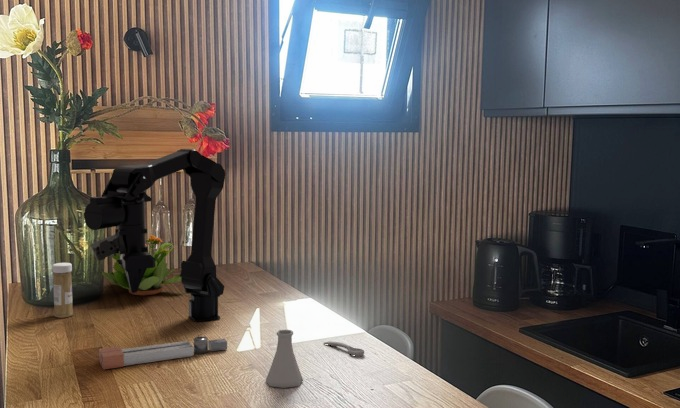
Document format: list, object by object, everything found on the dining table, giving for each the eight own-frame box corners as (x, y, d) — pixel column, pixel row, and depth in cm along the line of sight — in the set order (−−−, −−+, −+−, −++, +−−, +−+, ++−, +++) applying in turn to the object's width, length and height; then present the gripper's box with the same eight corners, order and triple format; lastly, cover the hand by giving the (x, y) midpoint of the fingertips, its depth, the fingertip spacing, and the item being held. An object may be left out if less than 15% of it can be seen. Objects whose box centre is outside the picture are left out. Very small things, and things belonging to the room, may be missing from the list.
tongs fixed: (224, 346, 148) (224, 335, 147) (229, 351, 144) (229, 339, 144) (100, 363, 136) (100, 351, 135) (103, 369, 132) (102, 356, 132)
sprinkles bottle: (74, 316, 169) (73, 264, 167) (55, 319, 166) (54, 266, 165) (71, 312, 172) (69, 261, 171) (52, 314, 170) (50, 263, 168)
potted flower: (202, 285, 204) (202, 229, 202) (170, 305, 181) (169, 242, 179) (126, 280, 208) (125, 225, 206) (85, 299, 185) (83, 237, 183)
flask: (266, 375, 132) (266, 326, 131) (302, 374, 132) (303, 326, 131) (265, 389, 125) (265, 337, 124) (303, 389, 125) (304, 337, 124)
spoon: (358, 359, 142) (357, 350, 142) (321, 349, 151) (320, 340, 151) (367, 356, 144) (367, 347, 144) (330, 346, 153) (330, 338, 153)
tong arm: (204, 346, 147) (204, 334, 147) (209, 352, 144) (209, 339, 143) (99, 360, 137) (99, 347, 137) (102, 367, 134) (101, 354, 133)
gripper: (87, 219, 151) (90, 286, 153) (99, 233, 135) (102, 307, 137) (137, 216, 156) (139, 281, 158) (154, 229, 140) (156, 301, 142)
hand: (133, 292), depth 149 cm, fingers closed
